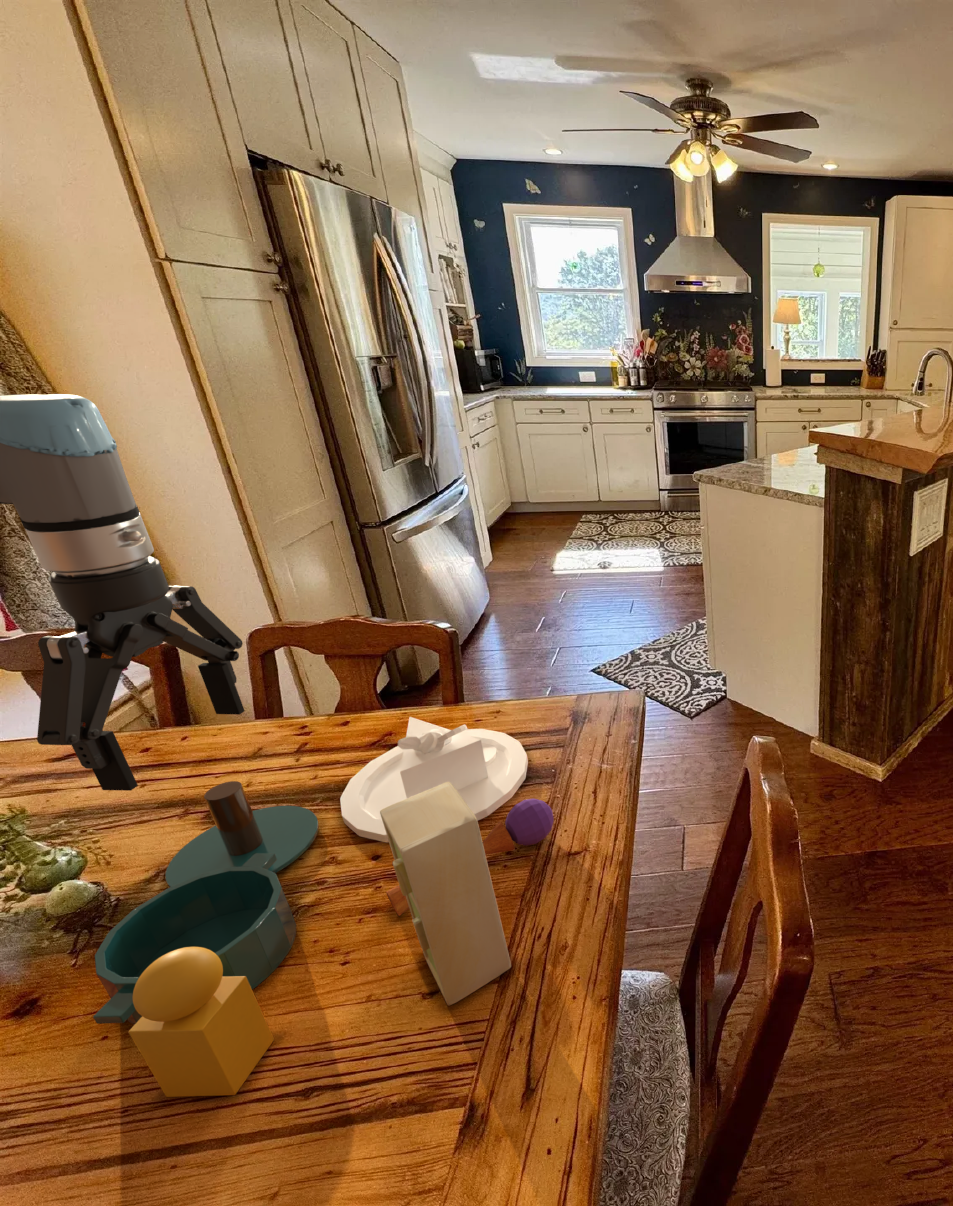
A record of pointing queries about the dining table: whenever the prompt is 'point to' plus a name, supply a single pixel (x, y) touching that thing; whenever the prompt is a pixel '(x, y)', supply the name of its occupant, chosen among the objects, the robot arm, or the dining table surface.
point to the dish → (435, 773)
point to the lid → (243, 835)
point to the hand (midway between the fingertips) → (180, 747)
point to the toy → (197, 1024)
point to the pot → (200, 931)
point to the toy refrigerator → (447, 889)
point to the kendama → (503, 837)
